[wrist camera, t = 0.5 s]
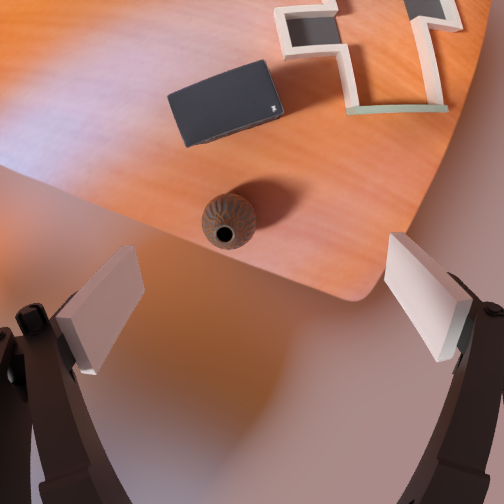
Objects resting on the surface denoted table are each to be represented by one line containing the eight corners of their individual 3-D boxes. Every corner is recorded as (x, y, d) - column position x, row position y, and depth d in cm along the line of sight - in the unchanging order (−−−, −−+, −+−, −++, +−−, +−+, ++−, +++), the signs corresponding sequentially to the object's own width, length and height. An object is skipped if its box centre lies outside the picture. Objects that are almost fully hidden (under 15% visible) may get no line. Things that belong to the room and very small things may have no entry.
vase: (257, 189, 41) (256, 205, 33) (256, 237, 43) (255, 264, 35) (206, 188, 41) (192, 204, 33) (207, 236, 44) (195, 262, 35)
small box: (264, 73, 35) (265, 55, 25) (281, 118, 37) (288, 115, 27) (188, 101, 36) (164, 93, 27) (204, 145, 39) (186, 151, 29)
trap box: (256, -50, 26) (255, -63, 23) (427, -40, 24) (438, -48, 20) (295, 121, 37) (299, 120, 33) (468, 113, 34) (483, 114, 31)
